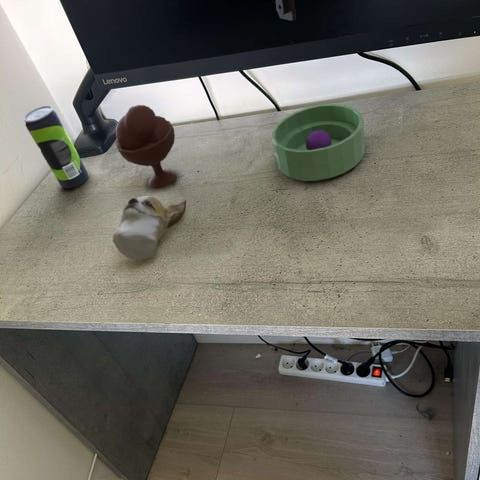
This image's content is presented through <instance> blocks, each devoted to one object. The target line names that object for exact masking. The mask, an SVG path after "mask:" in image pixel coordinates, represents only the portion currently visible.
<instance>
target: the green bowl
mask: <svg viewBox="0 0 480 480" xmlns="http://www.w3.org/2000/svg"><path fill="white" fill-rule="evenodd" d="M364 124H365V121H364V117H363V114H362V113H361V112H360V111H359V110H358V109H357V108H354V107H352V106H350V105H346V104H339V103H338V104H337V103H326V104H325V103H324V104H317V105H312V106H307V107H305V108H302V109H300V110H297V111H294V112H293V113H291V114H289V115H287V116H286V117H284V118H283V119H282V120H280V121H279V122H278V123H277V124H276V125H275V127H274V129H273V130H272V131H271V141H272V145H273V150H274V151H273V152H274V155H275V160H276V165H277V168H278V169H279V171H280V172H281V174H283V175H284V176H286V177H288V178H290V179H293V180H297V181H303V182H307V181H308V182H317V181H321V180H329V179H331V178H334V177H338V176H339V175H343V174H345V173H347V172H348V171H350V170H351V169H353V168H355V167H356V166H357V165H358V164H359V163H360V162H361V161H362V159H363V158H364V155H365V152H366V142H365V141H366V139H365V125H364ZM317 130H321V131H325V132H326V133H328V134H329V136H330V138H331V141H332V144H331V146H328V147H324V148H319V149H314V150H307V149H306V140H307V138H308V136H309V135H310V134H311V133H312V132H314V131H317Z"/></svg>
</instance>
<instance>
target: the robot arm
mask: <svg viewBox="0 0 480 480" xmlns="http://www.w3.org/2000/svg"><path fill="white" fill-rule="evenodd" d="M295 3H296V2H295V0H275V5H276V12H277V14H278V16H279V18H280V19H282V20H286V21H291V22H293V21H295V20H296V18H297V10H296V4H295Z"/></svg>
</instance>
